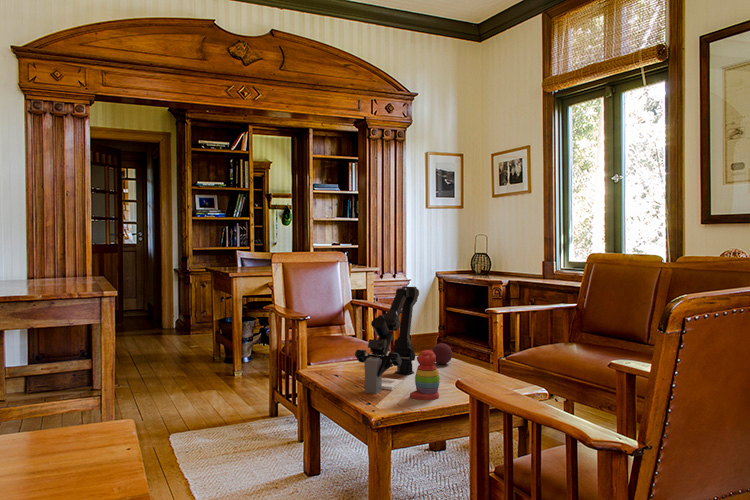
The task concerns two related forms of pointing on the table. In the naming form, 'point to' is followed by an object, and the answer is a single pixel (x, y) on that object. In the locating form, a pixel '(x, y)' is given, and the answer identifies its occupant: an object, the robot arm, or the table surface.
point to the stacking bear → (426, 377)
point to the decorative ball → (442, 353)
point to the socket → (390, 383)
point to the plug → (373, 375)
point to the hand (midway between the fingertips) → (371, 375)
